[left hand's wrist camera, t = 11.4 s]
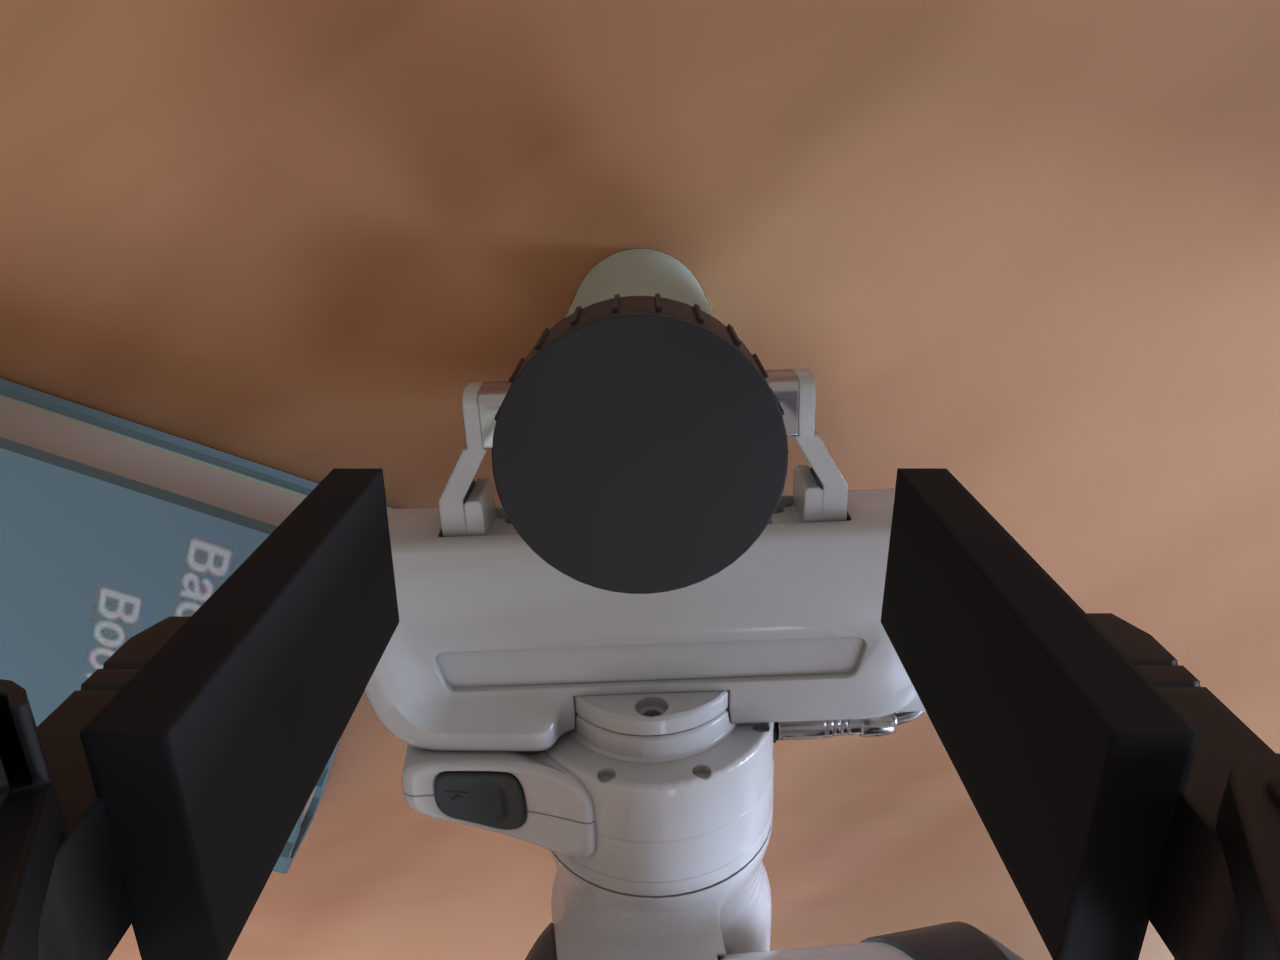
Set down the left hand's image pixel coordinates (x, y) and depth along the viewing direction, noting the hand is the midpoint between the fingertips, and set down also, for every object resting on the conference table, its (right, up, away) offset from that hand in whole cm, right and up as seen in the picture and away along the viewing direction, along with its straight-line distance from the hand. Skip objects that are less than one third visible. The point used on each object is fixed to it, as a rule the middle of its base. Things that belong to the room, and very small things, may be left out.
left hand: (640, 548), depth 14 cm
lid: (0, +2, +4) cm, 4 cm away
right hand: (0, +4, +13) cm, 14 cm away
